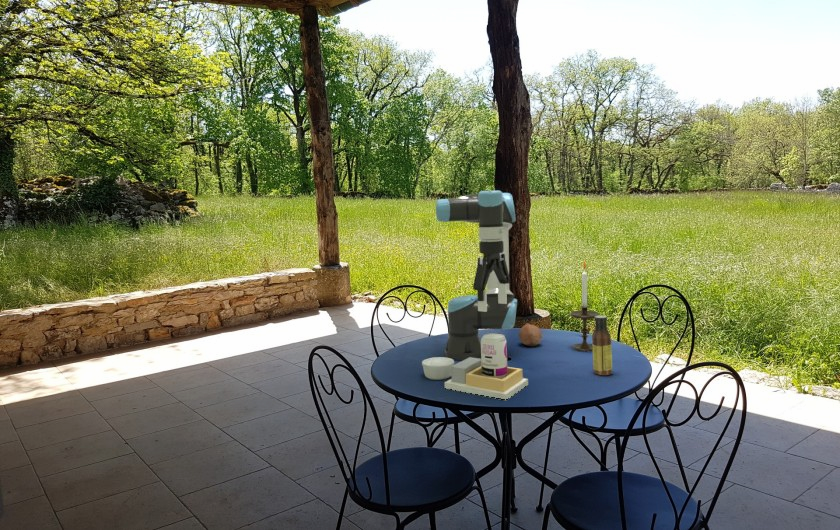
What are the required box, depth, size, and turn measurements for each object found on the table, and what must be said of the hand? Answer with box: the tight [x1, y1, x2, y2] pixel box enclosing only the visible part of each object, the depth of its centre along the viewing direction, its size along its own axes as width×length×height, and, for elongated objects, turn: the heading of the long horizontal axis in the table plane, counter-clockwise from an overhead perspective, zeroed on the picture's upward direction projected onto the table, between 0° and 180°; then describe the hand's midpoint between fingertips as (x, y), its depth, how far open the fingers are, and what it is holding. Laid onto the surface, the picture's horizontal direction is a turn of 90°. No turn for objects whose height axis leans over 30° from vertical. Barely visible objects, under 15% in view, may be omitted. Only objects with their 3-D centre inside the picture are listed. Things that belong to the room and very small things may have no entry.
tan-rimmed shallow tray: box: [444, 357, 529, 401], centre depth 175 cm, size 22×16×7 cm
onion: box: [518, 322, 543, 347], centre depth 222 cm, size 10×9×10 cm
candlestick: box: [569, 261, 600, 353], centre depth 213 cm, size 11×11×35 cm
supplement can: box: [480, 332, 508, 379], centre depth 172 cm, size 8×8×15 cm
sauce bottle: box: [591, 314, 613, 376], centre depth 183 cm, size 6×6×20 cm
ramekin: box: [421, 356, 455, 381], centre depth 188 cm, size 11×11×5 cm
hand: (492, 307), depth 171 cm, fingers open, 13 cm apart
